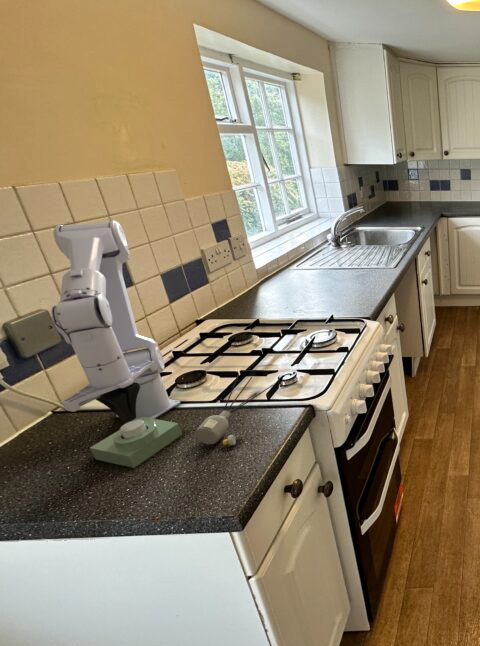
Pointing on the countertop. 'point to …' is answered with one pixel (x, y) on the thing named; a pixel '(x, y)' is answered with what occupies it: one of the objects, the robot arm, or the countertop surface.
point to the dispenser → (137, 443)
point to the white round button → (133, 429)
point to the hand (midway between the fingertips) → (129, 419)
